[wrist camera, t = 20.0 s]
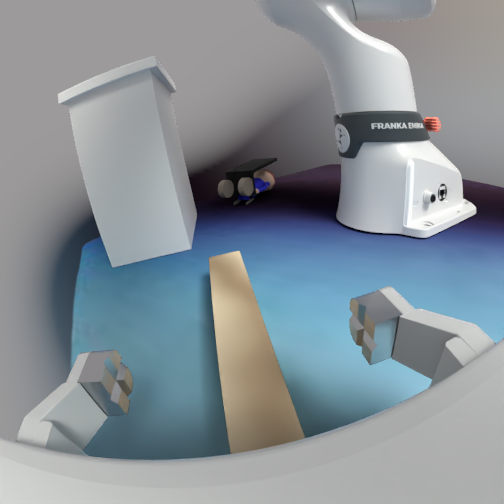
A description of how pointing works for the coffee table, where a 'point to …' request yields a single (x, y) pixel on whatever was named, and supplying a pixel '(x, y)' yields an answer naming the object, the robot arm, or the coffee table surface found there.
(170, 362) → the coffee table surface
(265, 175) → the figurine character
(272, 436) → the beech bar
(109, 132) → the pedestal
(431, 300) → the coffee table surface
